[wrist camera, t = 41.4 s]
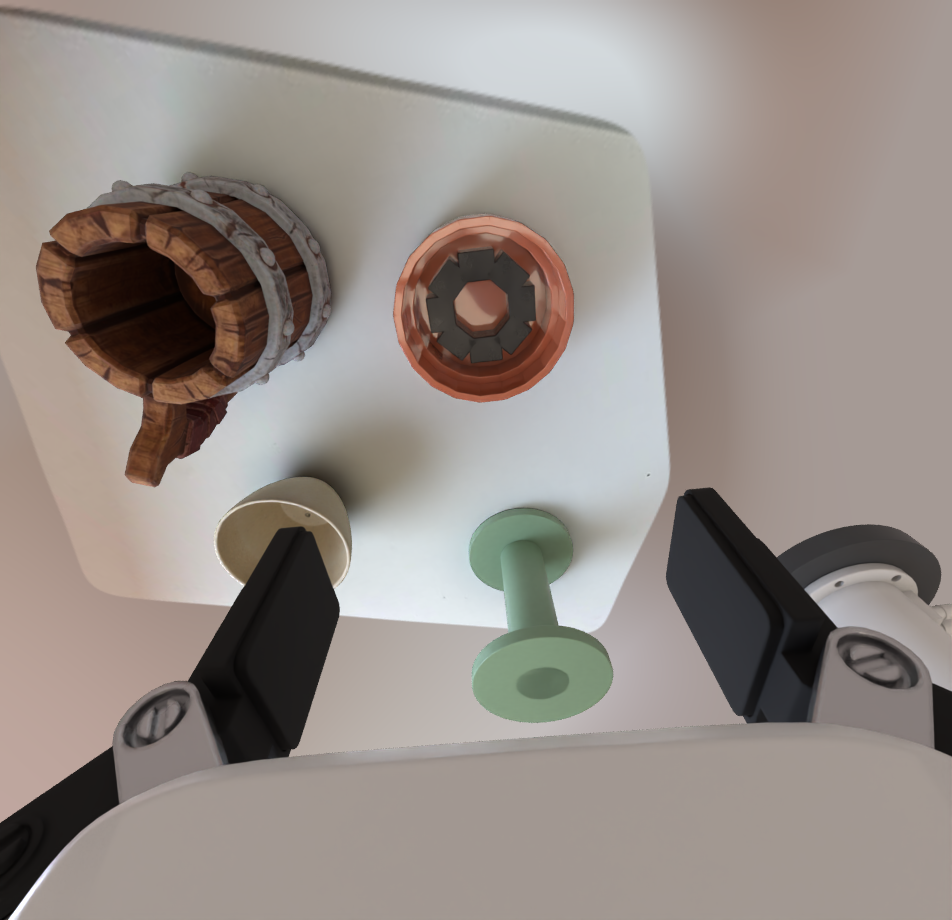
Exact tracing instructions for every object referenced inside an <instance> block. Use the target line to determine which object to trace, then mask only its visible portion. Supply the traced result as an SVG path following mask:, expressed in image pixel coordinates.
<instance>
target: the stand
mask: <svg viewBox="0 0 952 920" xmlns="http://www.w3.org/2000/svg"><path fill="white" fill-rule="evenodd" d="M572 555H573V545H572V541H571V538H570V535H569V532H568V530H567V528H566V527H565V526H564V524H563V523H562V522H561V521H560V520H558V519H557V518H556V517H554V516H553V515H551V514H549V513H546V512H544V511H541V510H537V509H531V508H518V509H511V510H507V511H503V512H500V513H498V514H496V515H494V516H492V517H490V518H489V519H487V520H486V521H484V522H483V523H482V524H481V525H480V526H479V527H478V528H477V529H476V531H475V533H474V534H473V536H472V538H471V541H470V545H469V561H470V565H471V567H472V570H473V571H474V573H475V575H476V576H477V577H478V578H479V579H480V580H481V581H482V582H484V583H485V584H487V585H488V586H490V587H492V588H495V589H498V590H501V591H504V595H505V604H506V613H507V623H508V632H509V633H507V634H504V635H502V636H500V637H499V638H497V639H495V640H493V641H492V642H491V643H489V644H488V645H487V646H486V647H485V648H484V649H483V650H482V651H481V652H480V653H479V654H478V656H477V658H476V659H475V662H474V664H473V667H472V689H473V692H474V695H475V697H476V699H477V701H478V702H479V703H480V704H481V705H482V706H483V707H484V708H485V709H486V710H488V711H490V712H491V713H493V714H495V715H497V716H500V717H502V718H505V719H509V720H513V721H519V722H529V723H530V722H531V723H539V722H550V721H556V720H561V719H565V718H568V717H571V716H574V715H577V714H579V713H581V712H583V711H585V710H587V709H589V708H590V707H592V706H593V705H595V704H596V703H597V702H599V701H600V700H601V699H602V698H603V697H604V696H605V694H606V693H607V691H608V690H609V688H610V686H611V684H612V680H613V668H612V665H611V662H610V659H609V656H608V653H607V651H606V649H605V648H604V646H603V645H602V644H601V643H600V642H599V641H598V640H597V639H596V638H594V637H593V636H591V635H589V634H587V633H585V632H583V631H581V630H578V629H575V628H570V627H565V626H558V621H557V617H556V613H555V608H554V604H553V599H552V595H551V591H550V586H549V584H551V583H553V582H554V581H555V580H557V579H558V578H559V577H560V576H561V575H562V574H563V573H564V572H565V571H566V569H567V568H568V566H569V564H570V562H571V559H572Z"/></svg>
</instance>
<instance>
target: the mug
mask: <svg viewBox="0 0 952 920" xmlns="http://www.w3.org/2000/svg"><path fill="white" fill-rule="evenodd" d="M49 232H50V235H51V236H52V237H53V238H54V239H55V240H56V241H51V242H45V243H42V246H41V250H40V254H39V257H38V261H37V265H36V271H37V277H38V284H39V290H40V296H41V302H42V304H43V306H44V308H45V310H46V312H47V314H48V316H49V318H50V320H51V322H52V324H53V326H54V328H55V329H58V330H64V331H68V332H69V333H70V334H71V336H70V337H69V338H68V340H67V341H66V342H65V344H66V345H67V346H68V347H69V348H70V349H71V350H72V351H73V353H74V354H75V355H76V356H77V357H78V358H79V359H80V360H81V361H82V363H83V364H84V365H85V366H86V367H88V368H89V369H91V370H92V371H94V372H95V373H96V374H98V375H99V376H101V377H102V378H104V379H105V380H106V381H108V382H109V383H111V384H112V385H113V386H115V387H116V388H119V389H121V390H124V391H126V392H129V393H131V394H134V395H136V396H139V397H141V398H143V416H142V424H141V428H140V430H139V432H138V434H137V436H136V438H135V440H134V442H133V444H132V446H131V448H130V452H129V456H128V461H127V466H126V471H125V476H126V477H127V478H128V479H129V480H130V481H131V482H132V483H137V484H142V485H147V486H152V487H156V486H158V485H159V484H160V481H161V479H162V477H163V474H164V472H165V470H166V467H167V465H168V464H169V463H171V462H172V461H173V460H174V459H175V458H179V459H182V458H184V457H187V456H189V455H191V454H192V453H194V452H196V451H198V450H200V445H201V444H202V443H203V442H204V441H205V439H206V438H208V437H210V435H211V433H212V432H213V430H214V429H215V427H216V425H217V424H220V422H221V421H222V419H223V418H224V416H225V415H226V413H227V411H226V410H225V409H226V408H227V406H228V404H227V403H228V402H229V401H230V400H231V399H232V398H233V397H234V396H235V395H236V394H237V393H238V392H239V391H243V390H244V389H246V388H247V387H249V386H251V385H252V384H254V383H256V384H259V385H262V384H265V383H267V382H268V380H269V374H268V373H269V372H271V371H272V370H273V369H275V368H276V367H277V366H279V365H284V364H286V363H287V362H289V361H291V360H292V359H293V360H295V361H301V360H302V359H303V358H304V356H305V354H304V351H305V350H306V349H308V348H309V347H311V346H312V345H313V344H314V342H315V341H316V339H317V337H318V336H319V334H320V332H321V331H322V329H323V327H324V326H325V324H326V322H327V317H328V316H330V314H331V307H330V306H329V304H330V297H331V290H330V284H329V279H328V274H327V268H326V263H325V260H324V258H323V256H322V254H321V252H320V246H319V244H318V242H317V241H316V240H314V239H313V237H312V235H311V233H310V231H309V229H308V228H307V227H306V226H305V225H304V224H303V223H302V222H301V221H300V220H299V219H298V218H297V216H296V215H295V214H294V213H293V212H292V211H291V210H290V209H289V208H288V207H287V206H286V205H285V204H284V203H283V202H282V201H281V200H279V199H277V198H276V197H274V196H272V195H270V194H268V191H267V190H266V188H265V187H264V186H262V185H260V184H256V185H252V184H250V183H248V182H245V181H239V180H233V179H226V178H220V177H214V176H209V177H201V178H198V177H197V176H196V175H195V174H193V173H189V172H188V173H185V174H184V175H183V176H182V183H178V184H174V185H170V186H167V185H161V184H154V183H153V184H144V185H136V186H132V185H131V184H129V183H128V182H125V181H121V180H120V181H116V182H114V183H113V185H112V192H110V193H106V194H102V195H100V196H99V197H98V198H97V199H96V200H95V201H94V202H93V203H92V204H91V205H90V206H89V207H88V208H87V209H83V210H80V211H76V212H72V213H68V214H66V215H65V216H64V217H63V218H62V219H61V220H60V221H59V222H58V223H57V224H56V225H55V226H54V227H53V228H52V229H51V230H50V231H49Z"/></svg>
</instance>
